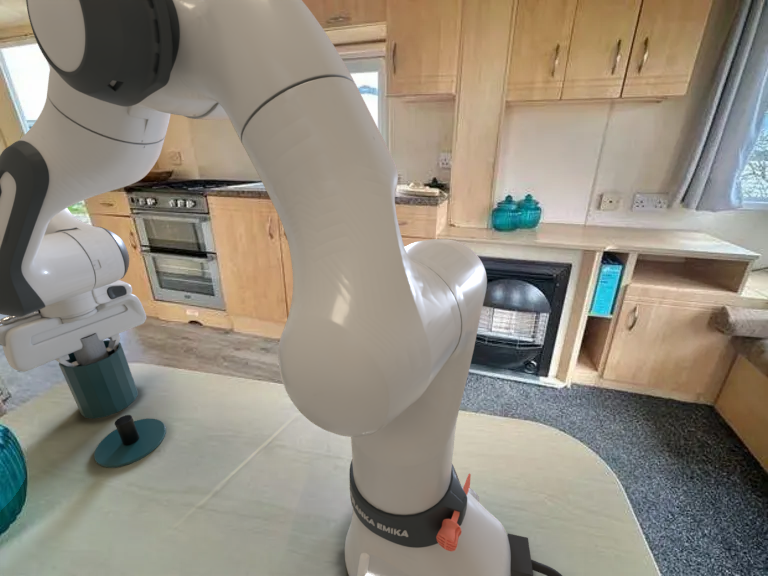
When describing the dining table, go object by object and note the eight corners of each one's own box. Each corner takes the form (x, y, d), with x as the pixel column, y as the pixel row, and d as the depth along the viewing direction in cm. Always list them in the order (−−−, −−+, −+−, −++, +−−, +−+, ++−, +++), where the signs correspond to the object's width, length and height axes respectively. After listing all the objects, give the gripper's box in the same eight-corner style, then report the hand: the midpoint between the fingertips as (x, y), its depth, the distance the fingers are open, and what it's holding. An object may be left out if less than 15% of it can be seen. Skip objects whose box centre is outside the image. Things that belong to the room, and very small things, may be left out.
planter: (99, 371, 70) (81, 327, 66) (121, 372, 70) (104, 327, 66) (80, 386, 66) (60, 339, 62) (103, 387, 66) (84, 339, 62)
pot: (147, 397, 72) (130, 347, 67) (96, 427, 64) (73, 373, 60) (124, 383, 76) (106, 335, 71) (73, 409, 69) (49, 358, 64)
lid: (179, 435, 62) (171, 411, 60) (115, 480, 54) (104, 454, 52) (147, 415, 67) (138, 392, 65) (84, 454, 59) (72, 429, 57)
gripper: (-7, 328, 51) (31, 402, 57) (139, 282, 68) (158, 343, 73) (-22, 318, 54) (16, 390, 59) (122, 276, 70) (142, 335, 76)
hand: (95, 363), depth 66 cm, fingers closed on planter, 4 cm apart
